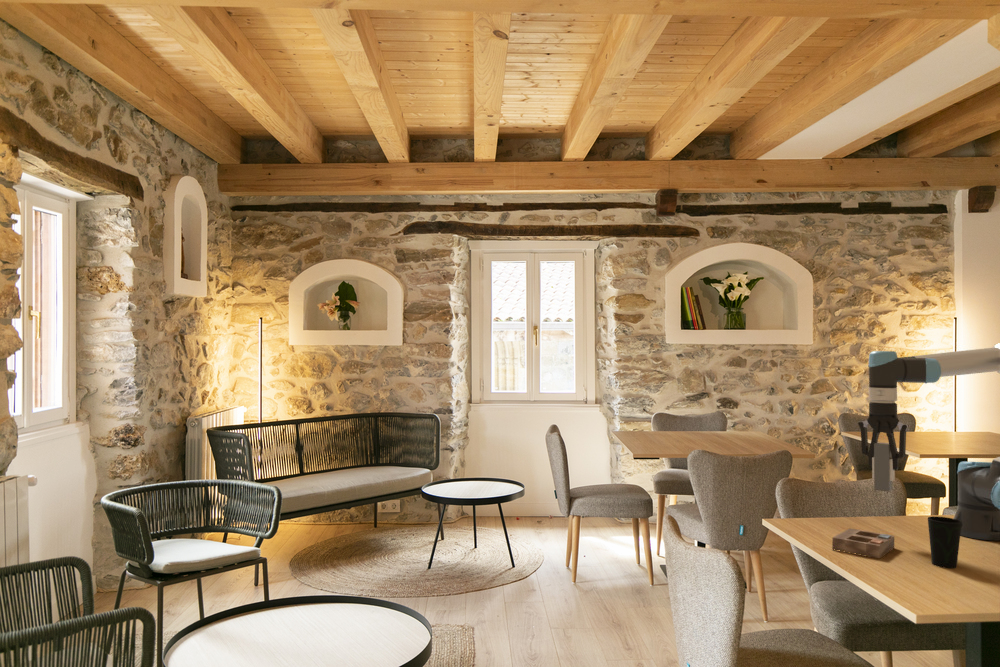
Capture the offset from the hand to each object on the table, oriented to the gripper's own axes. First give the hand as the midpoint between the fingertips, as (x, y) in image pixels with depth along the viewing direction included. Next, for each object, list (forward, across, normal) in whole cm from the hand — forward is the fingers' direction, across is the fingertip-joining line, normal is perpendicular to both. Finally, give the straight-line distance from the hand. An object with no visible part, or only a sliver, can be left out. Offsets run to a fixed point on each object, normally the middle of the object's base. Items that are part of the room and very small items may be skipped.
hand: (883, 479), depth 212 cm
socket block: (+18, -2, -15) cm, 24 cm away
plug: (+3, 0, 0) cm, 3 cm away
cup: (+19, +18, -16) cm, 31 cm away
